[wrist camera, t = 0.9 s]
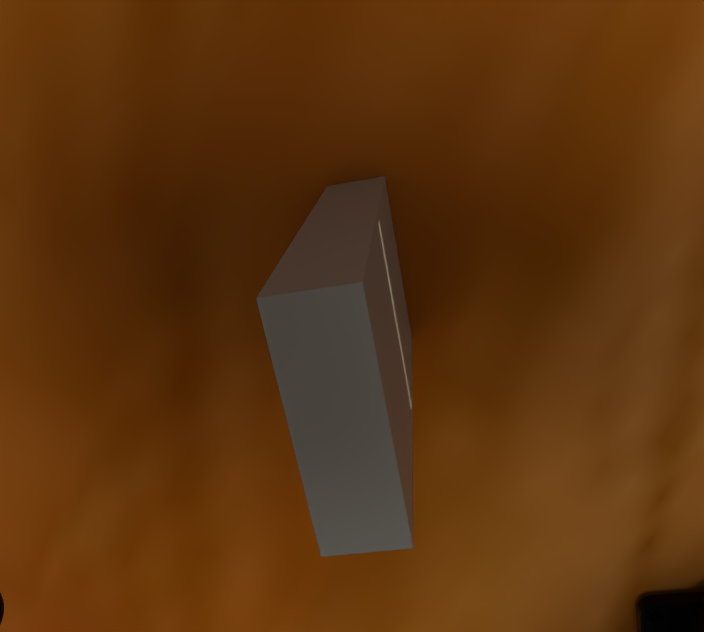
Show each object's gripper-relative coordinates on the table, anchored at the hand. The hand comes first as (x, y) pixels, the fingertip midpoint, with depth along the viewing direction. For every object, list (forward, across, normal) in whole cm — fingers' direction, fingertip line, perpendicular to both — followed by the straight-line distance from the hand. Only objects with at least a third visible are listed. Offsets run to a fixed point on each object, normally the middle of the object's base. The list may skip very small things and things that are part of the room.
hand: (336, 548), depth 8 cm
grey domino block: (+12, 0, 0) cm, 12 cm away
